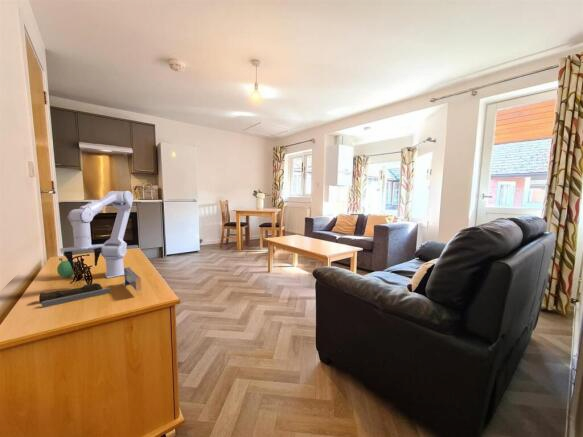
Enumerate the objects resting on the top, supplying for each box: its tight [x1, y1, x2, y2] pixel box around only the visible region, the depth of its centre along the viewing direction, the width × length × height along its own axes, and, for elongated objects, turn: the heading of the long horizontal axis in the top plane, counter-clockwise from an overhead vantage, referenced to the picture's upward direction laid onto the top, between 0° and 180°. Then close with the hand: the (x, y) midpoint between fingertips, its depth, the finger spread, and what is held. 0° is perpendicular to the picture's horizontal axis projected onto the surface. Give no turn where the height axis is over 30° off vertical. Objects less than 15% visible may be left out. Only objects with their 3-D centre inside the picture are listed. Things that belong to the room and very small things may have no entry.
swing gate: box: [123, 266, 142, 292], centre depth 105 cm, size 21×2×7 cm, turn 45°
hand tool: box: [38, 282, 104, 304], centre depth 97 cm, size 19×4×5 cm, turn 118°
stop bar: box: [41, 287, 111, 308], centre depth 95 cm, size 2×20×2 cm, turn 133°
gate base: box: [122, 282, 132, 287], centre depth 112 cm, size 4×4×1 cm
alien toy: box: [56, 257, 76, 279], centre depth 120 cm, size 7×8×10 cm
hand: (84, 266), depth 107 cm, fingers open, 7 cm apart
